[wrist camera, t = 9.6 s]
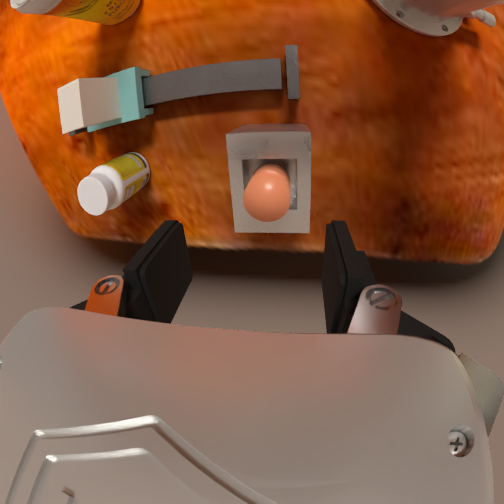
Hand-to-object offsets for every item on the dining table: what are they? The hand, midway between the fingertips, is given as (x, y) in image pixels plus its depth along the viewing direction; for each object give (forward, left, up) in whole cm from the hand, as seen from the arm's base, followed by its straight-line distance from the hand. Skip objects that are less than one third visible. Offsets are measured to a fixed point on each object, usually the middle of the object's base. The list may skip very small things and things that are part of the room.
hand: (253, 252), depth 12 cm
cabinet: (0, 0, -18) cm, 18 cm away
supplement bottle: (+16, 0, -18) cm, 24 cm away
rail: (+10, -9, -18) cm, 22 cm away
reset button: (0, 0, -10) cm, 10 cm away
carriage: (+16, -9, -18) cm, 25 cm away
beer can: (+16, -22, -18) cm, 33 cm away
